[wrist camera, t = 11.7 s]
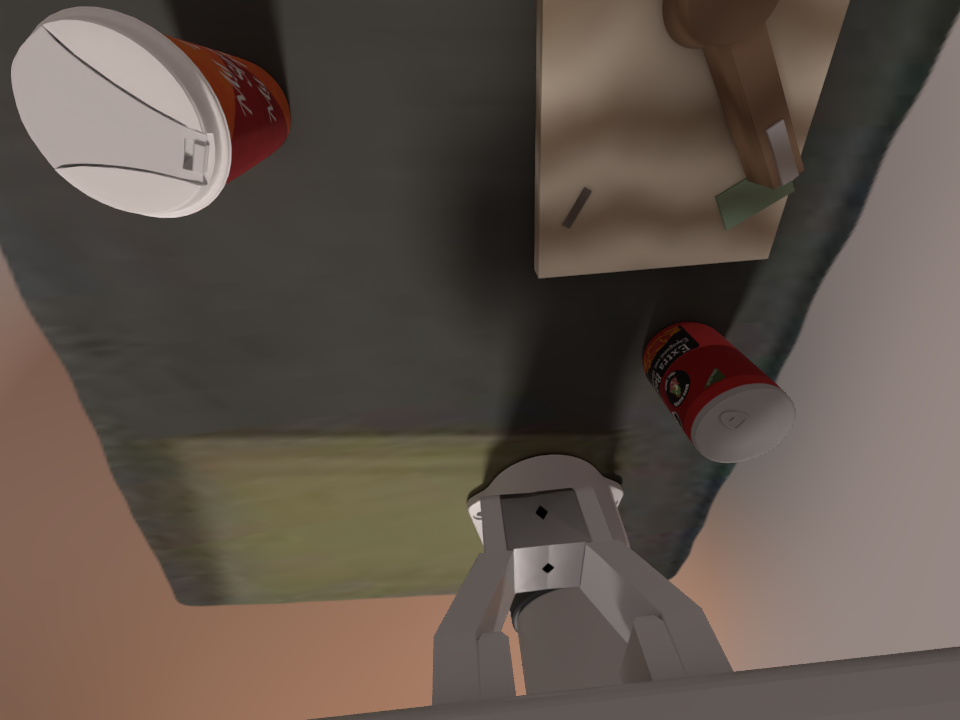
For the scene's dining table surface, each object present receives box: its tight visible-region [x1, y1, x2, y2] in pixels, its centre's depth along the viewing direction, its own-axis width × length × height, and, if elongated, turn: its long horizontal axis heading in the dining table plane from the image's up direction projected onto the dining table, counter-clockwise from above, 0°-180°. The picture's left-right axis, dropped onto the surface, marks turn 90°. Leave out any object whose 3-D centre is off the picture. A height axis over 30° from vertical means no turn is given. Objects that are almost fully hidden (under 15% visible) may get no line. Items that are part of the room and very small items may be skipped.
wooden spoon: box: [662, 0, 804, 189], centre depth 26 cm, size 14×5×4 cm, turn 36°
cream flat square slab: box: [534, 0, 850, 278], centre depth 30 cm, size 20×19×2 cm
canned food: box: [643, 321, 796, 463], centre depth 38 cm, size 8×8×11 cm
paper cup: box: [11, 7, 291, 218], centre depth 23 cm, size 8×8×14 cm
